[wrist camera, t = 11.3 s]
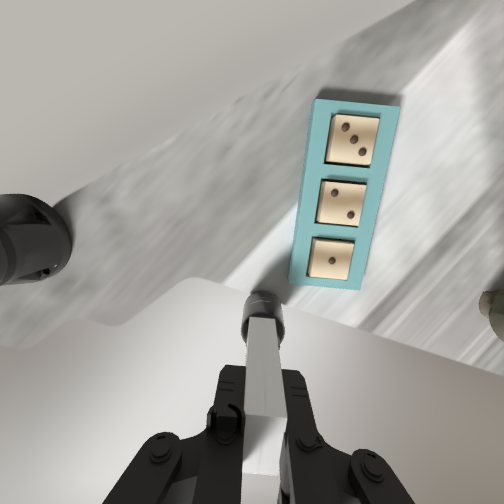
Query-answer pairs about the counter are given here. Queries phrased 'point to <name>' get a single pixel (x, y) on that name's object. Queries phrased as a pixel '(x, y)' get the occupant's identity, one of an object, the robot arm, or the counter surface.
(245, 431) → the robot arm
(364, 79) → the counter surface
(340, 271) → the key one
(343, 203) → the key two
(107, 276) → the counter surface
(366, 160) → the key three
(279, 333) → the supplement bottle
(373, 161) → the teal puzzle board
